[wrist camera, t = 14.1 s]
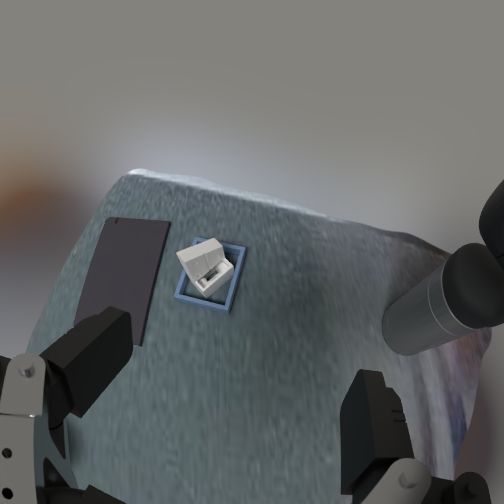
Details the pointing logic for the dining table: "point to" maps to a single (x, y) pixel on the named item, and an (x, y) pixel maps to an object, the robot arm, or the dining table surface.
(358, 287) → the dining table surface
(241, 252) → the blue rectangular frame
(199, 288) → the white angled block
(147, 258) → the notebook
